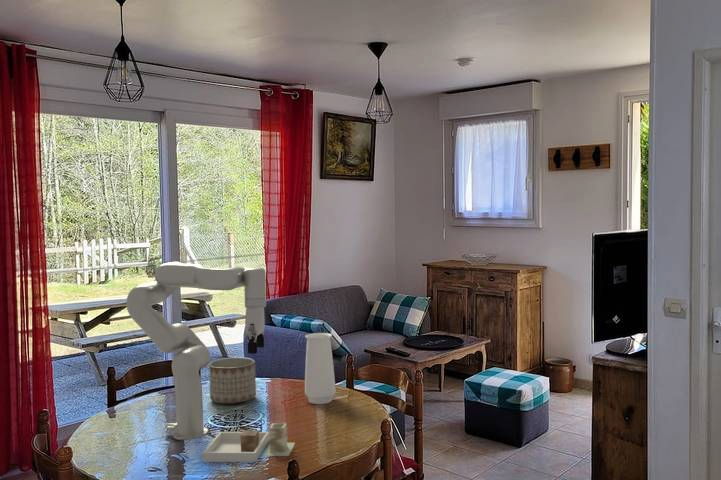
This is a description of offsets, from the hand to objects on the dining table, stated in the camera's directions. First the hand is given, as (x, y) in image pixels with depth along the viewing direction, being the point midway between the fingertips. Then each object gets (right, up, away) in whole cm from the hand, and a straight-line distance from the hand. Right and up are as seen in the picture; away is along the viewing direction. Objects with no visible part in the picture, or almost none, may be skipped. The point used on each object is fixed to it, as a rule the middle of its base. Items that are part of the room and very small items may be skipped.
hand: (256, 350), depth 233 cm
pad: (+10, -32, -11) cm, 35 cm away
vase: (+20, -29, +45) cm, 57 cm away
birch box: (+9, -31, -12) cm, 35 cm away
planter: (-18, -30, +49) cm, 60 cm away
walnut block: (0, -32, -12) cm, 34 cm away
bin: (-5, -32, -12) cm, 35 cm away
